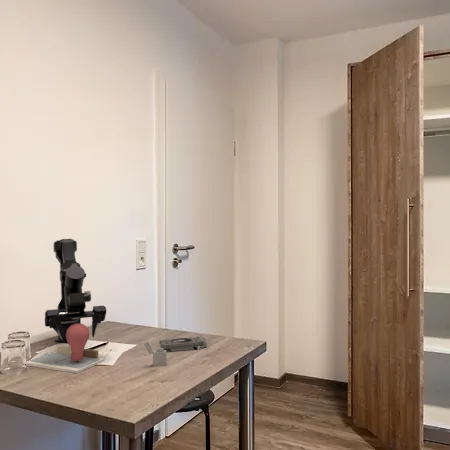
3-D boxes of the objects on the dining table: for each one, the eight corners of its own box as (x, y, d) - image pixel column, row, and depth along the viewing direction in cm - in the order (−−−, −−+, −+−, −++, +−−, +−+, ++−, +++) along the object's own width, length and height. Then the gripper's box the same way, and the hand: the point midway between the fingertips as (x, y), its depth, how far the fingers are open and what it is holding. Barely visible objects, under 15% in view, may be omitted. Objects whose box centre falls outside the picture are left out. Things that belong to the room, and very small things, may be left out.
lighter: (165, 363, 144) (165, 338, 144) (166, 365, 143) (166, 339, 143) (143, 365, 143) (143, 340, 142) (143, 367, 141) (143, 341, 141)
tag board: (24, 365, 143) (24, 354, 143) (54, 353, 155) (54, 344, 155) (76, 373, 135) (76, 362, 135) (104, 360, 147) (104, 351, 147)
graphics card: (201, 332, 172) (209, 339, 161) (202, 342, 172) (209, 350, 161) (157, 336, 167) (162, 344, 156) (157, 346, 167) (162, 355, 156)
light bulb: (94, 360, 145) (94, 322, 145) (76, 366, 138) (76, 326, 138) (78, 356, 148) (78, 320, 148) (60, 362, 142) (60, 324, 142)
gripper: (44, 284, 143) (47, 327, 133) (105, 281, 151) (111, 320, 141) (43, 305, 150) (46, 347, 140) (101, 301, 158) (107, 340, 148)
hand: (78, 338), depth 142 cm, fingers open, 9 cm apart
